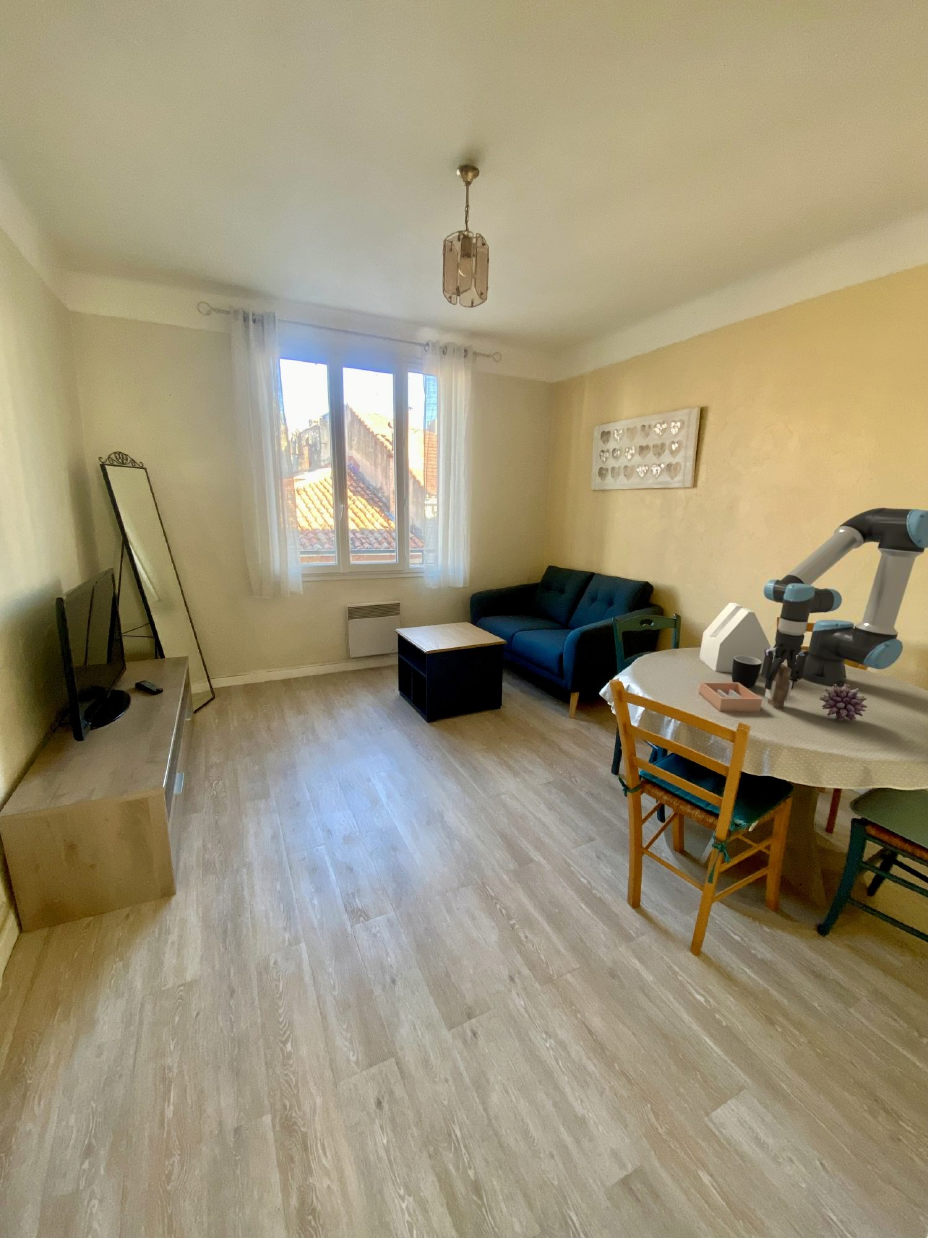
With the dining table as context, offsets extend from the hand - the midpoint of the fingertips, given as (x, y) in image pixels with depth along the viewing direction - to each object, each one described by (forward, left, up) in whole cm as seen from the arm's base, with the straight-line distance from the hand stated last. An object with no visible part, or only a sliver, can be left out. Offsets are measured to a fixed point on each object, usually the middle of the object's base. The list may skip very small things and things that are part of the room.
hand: (776, 697), depth 160 cm
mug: (+1, -18, -3) cm, 18 cm away
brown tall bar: (0, 0, -3) cm, 3 cm away
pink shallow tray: (+15, -2, -3) cm, 15 cm away
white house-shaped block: (-6, -37, -3) cm, 38 cm away
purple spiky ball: (-14, +10, -3) cm, 17 cm away
